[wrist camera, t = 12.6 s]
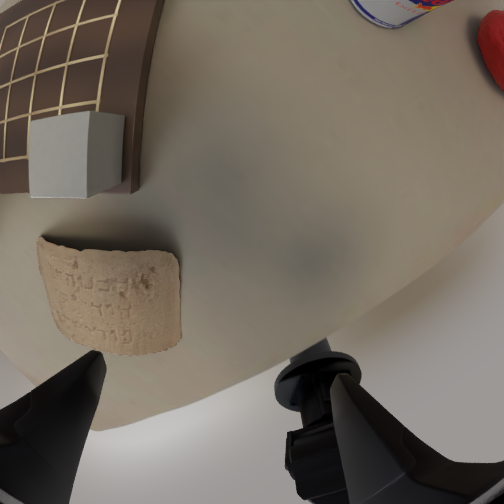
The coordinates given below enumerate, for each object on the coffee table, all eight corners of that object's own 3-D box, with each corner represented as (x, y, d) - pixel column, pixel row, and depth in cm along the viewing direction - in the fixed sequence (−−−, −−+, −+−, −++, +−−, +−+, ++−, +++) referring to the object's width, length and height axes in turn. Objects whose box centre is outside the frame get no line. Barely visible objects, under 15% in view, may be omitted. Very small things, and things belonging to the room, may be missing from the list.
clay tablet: (56, 322, 23) (44, 337, 20) (35, 232, 19) (17, 242, 16) (183, 346, 24) (178, 366, 21) (179, 243, 20) (171, 258, 17)
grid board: (139, 190, 18) (130, 194, 17) (-17, 191, 17) (-27, 195, 15) (177, -40, 11) (173, -50, 9) (6, 16, 9) (-2, 14, 8)
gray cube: (121, 183, 16) (87, 198, 12) (68, 183, 16) (29, 197, 12) (125, 115, 15) (89, 110, 10) (70, 120, 14) (29, 121, 10)
